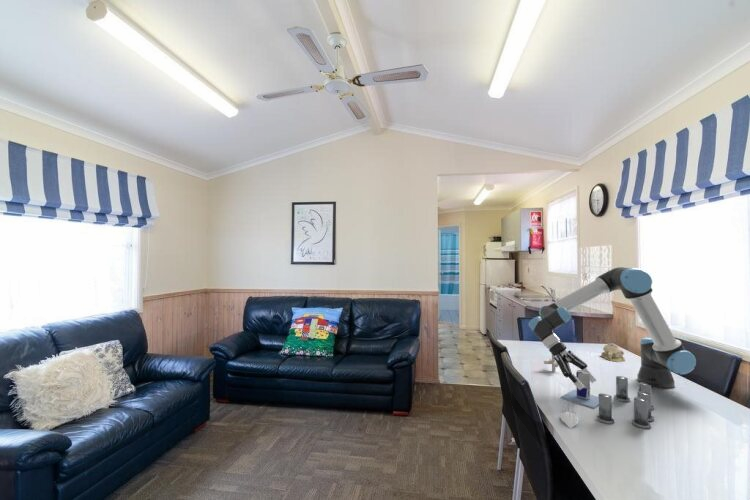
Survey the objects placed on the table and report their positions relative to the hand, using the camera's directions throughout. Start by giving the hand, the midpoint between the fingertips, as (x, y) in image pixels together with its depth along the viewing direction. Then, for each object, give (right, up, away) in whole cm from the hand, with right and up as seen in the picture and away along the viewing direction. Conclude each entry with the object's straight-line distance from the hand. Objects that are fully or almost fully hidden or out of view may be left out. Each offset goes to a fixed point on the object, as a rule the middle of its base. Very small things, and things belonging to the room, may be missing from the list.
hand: (588, 385), depth 156 cm
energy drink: (-1, -7, +2) cm, 7 cm away
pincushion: (-20, -8, -19) cm, 28 cm away
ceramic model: (+55, -8, +63) cm, 84 cm away
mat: (-1, -7, +2) cm, 8 cm away
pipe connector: (+4, -8, +39) cm, 40 cm away
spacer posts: (+9, -7, -12) cm, 17 cm away
